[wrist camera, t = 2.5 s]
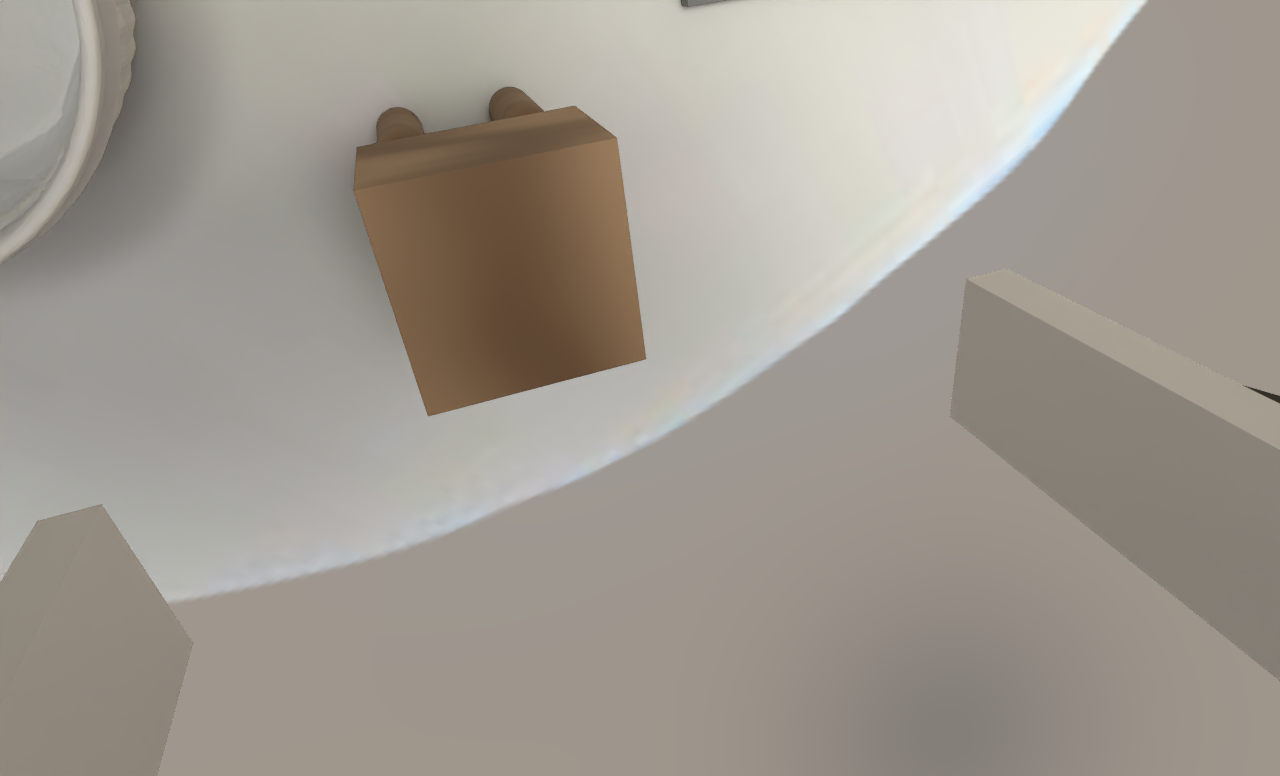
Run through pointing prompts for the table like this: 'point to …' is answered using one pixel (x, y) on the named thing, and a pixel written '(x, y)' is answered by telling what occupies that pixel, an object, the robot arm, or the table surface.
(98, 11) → the ramekin
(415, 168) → the stool
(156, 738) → the robot arm
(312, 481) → the table surface
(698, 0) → the mat
